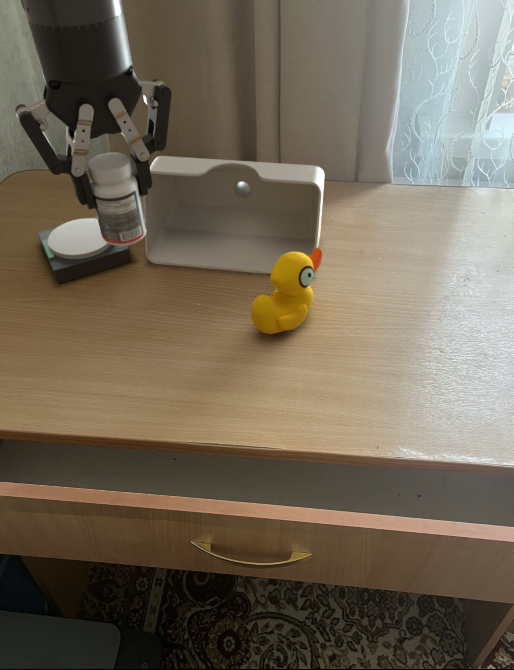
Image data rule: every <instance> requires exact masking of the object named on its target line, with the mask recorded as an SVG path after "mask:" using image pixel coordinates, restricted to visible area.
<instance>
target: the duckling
mask: <svg viewBox="0 0 514 670" xmlns="http://www.w3.org/2000/svg"><path fill="white" fill-rule="evenodd" d="M322 260H323V250H322V249H321V248H320V247H318V248H316V249H315V250H314V251H313V253H312V254H311V255H309V256H307V255H306V254H304V253H301V252H288V253H286V254H284V255H282V256H281V257H280V258H279V259H278V260H277V261H276V263H275V265H274V266H273V269H272V272H271V274H270V277H269V278H270V279H269V280H270V283H271V284H272V286H273V287H274V288H275V289H274V291H272V293H271V294H270V296H269V295H267V294H260V295H258V296H256V298H255V299H254V300H253V302H252V304H251V307H250V308H251V310H250V313H251V315H250V316H251V321H252V323H253V326H254V327H255V328H256V329H257V330H258V331H260V332H262V333H263V334H269V335H272V334H277V333H281V332H285V331H291V330H292V331H293V330H294V329H296V328H297V327H299V326H300V325H301V324H302V323H303V322H304V321H305V320H306V318H307V316H308V313H309V311H310V309H311V307H312V305H313V302H314V291H313V289H312V288H311V286H310V285H311V283H312V281H313V277H314V274H315V272H317V270H318V269H319V267H320V266H321V263H322Z"/></svg>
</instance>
